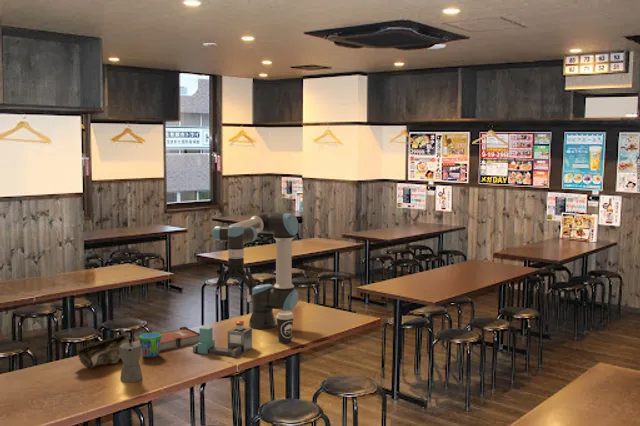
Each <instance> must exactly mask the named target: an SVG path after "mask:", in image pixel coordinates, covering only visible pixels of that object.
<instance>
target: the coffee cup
mask: <svg viewBox="0 0 640 426" xmlns="http://www.w3.org/2000/svg"><path fill="white" fill-rule="evenodd" d="M275 319H276V325H277V336H278V343H281V344H289V343H291V342H292V338H293V335H292V334H293V325H294V324H293V323H294V319H295V316H294V313H293V312H292V311H288V310H286V311H285V310H282V311H279V312H277V313H276V316H275Z"/></svg>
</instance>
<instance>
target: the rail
mask: <svg viewBox="0 0 640 426" xmlns="http://www.w3.org/2000/svg"><path fill="white" fill-rule="evenodd" d="M198 343H199V342H198ZM198 343H194V345H192V353H198ZM208 354H210V355H217V356H226V357H232V358H237V357H239V356H240V355H241V354H242V347H237V348H235V349H229V348H228V347H219V346H215V347H211V348H209V349H208ZM208 354H207V355H208Z"/></svg>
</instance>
